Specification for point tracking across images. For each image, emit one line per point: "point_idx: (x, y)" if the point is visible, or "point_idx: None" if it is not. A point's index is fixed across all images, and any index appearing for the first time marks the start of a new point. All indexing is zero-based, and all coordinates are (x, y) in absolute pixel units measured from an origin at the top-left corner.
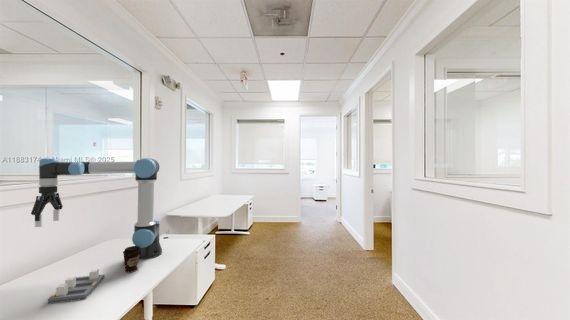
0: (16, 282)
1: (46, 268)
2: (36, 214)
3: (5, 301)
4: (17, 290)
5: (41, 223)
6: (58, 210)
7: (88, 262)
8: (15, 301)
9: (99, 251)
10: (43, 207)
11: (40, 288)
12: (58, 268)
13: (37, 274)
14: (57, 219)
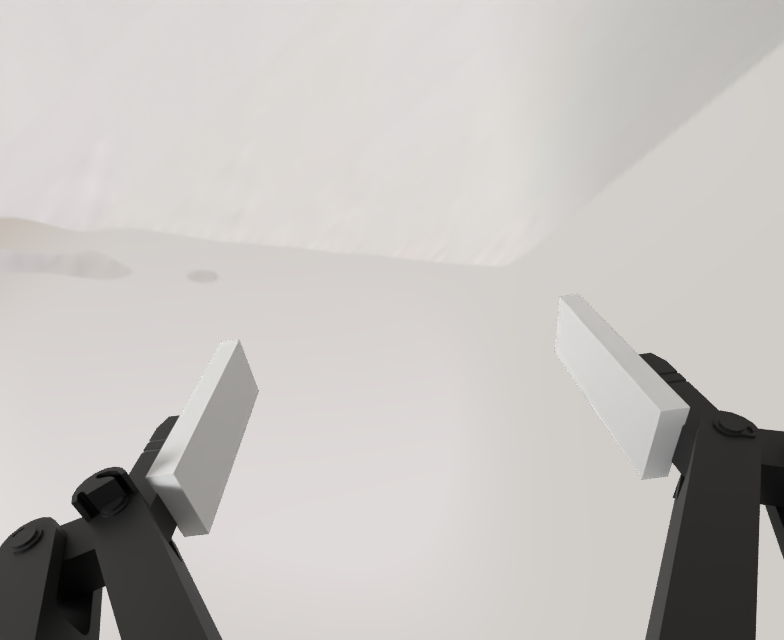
0: (484, 243)
1: (328, 240)
2: (777, 434)
3: (690, 115)
4: (579, 161)
5: (587, 317)
6: (180, 463)
7: (218, 29)
8: (711, 60)
9: (7, 107)
10: (710, 556)
11: (589, 48)
12: (326, 171)
13: (402, 222)
14: (237, 362)
